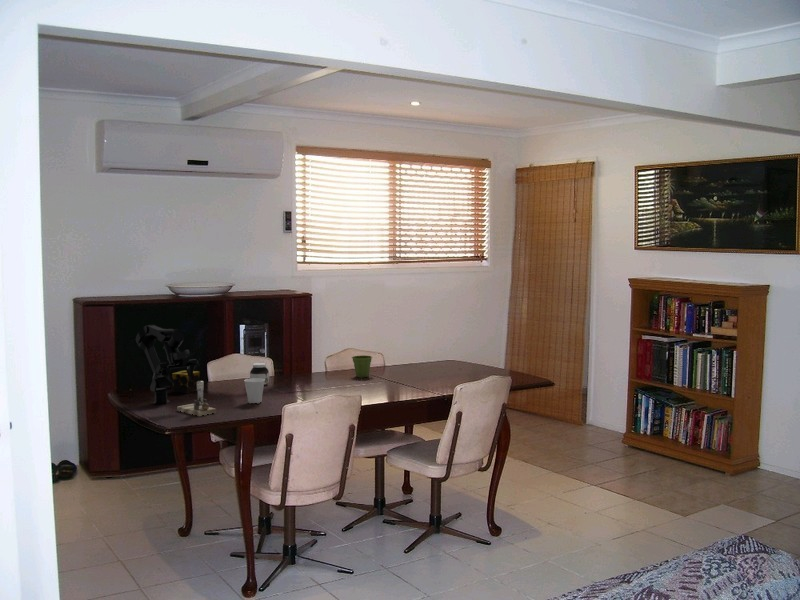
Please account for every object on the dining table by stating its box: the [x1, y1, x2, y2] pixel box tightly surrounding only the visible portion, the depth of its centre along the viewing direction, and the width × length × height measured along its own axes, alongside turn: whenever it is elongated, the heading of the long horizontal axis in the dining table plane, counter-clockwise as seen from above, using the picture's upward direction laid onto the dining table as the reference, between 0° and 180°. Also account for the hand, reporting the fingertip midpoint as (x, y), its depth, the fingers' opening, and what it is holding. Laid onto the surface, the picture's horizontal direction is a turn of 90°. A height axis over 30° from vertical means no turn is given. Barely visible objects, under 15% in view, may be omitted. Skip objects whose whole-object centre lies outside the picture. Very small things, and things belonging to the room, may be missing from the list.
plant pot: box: [351, 355, 373, 379], centre depth 456 cm, size 12×12×11 cm
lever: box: [196, 380, 205, 406], centre depth 364 cm, size 3×3×11 cm
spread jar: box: [249, 362, 270, 387], centre depth 432 cm, size 12×11×12 cm
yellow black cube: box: [171, 370, 200, 394], centre depth 416 cm, size 10×10×10 cm
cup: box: [243, 378, 265, 404], centre depth 387 cm, size 10×10×11 cm
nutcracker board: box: [176, 398, 217, 417], centre depth 367 cm, size 18×9×6 cm, turn 48°
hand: (182, 382), depth 368 cm, fingers open, 9 cm apart
